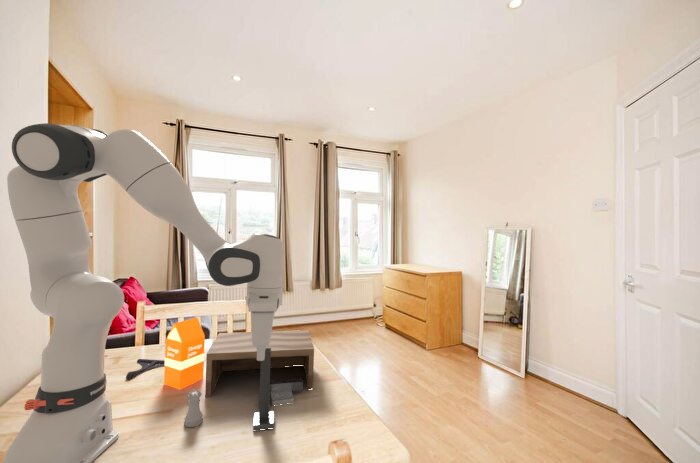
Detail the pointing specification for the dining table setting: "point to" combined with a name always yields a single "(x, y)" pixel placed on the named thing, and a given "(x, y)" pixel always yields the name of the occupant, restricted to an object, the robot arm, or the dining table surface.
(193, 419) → the rook chess piece
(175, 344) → the orange juice
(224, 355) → the low cabinet
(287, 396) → the block
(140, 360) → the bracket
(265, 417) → the hook tool
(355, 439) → the dining table surface
